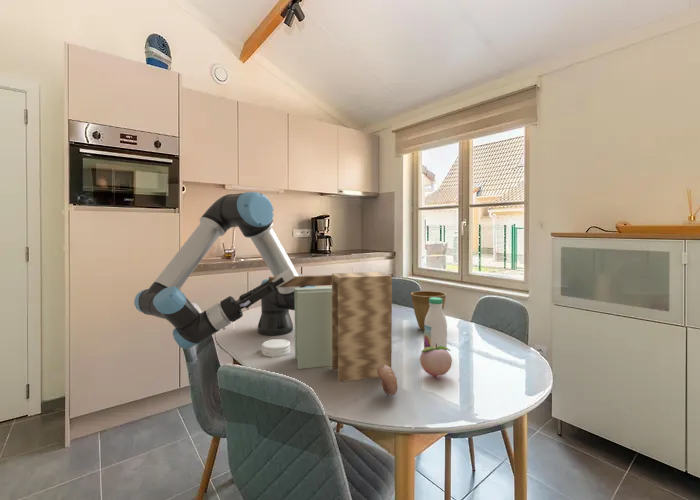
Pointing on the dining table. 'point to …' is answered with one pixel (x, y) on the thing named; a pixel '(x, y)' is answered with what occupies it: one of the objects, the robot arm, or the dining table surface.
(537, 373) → the dining table surface
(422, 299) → the plant pot
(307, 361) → the sage green rectangular block
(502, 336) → the dining table surface
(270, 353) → the coaster
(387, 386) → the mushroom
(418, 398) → the dining table surface
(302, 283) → the wooden square beam
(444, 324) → the milk bottle
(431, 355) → the decorative fruit
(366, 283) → the brown wooden tall box
